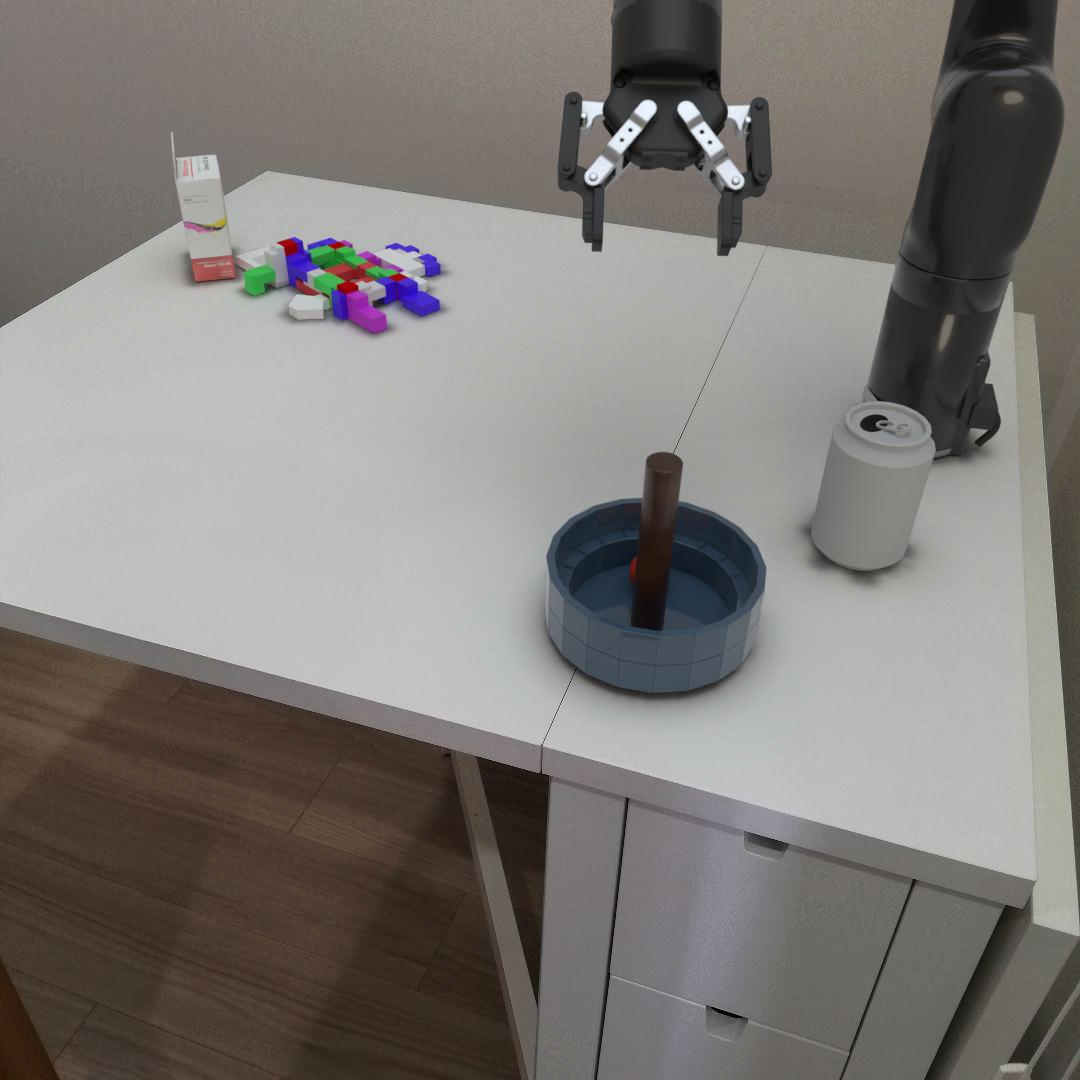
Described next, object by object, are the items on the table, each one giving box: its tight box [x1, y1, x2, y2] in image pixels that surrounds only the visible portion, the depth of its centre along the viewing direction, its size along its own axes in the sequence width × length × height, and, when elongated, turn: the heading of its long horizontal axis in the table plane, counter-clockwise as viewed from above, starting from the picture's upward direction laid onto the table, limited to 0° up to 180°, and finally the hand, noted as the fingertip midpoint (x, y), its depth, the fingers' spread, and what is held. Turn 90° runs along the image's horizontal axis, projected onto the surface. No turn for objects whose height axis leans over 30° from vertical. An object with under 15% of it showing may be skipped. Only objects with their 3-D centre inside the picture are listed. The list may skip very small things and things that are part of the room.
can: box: [810, 401, 936, 572], centre depth 81 cm, size 8×8×12 cm
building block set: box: [235, 236, 442, 334], centre depth 121 cm, size 25×20×4 cm
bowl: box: [544, 497, 767, 694], centre depth 76 cm, size 15×15×6 cm
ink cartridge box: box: [170, 131, 237, 282], centre depth 121 cm, size 9×5×15 cm, turn 17°
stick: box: [631, 451, 684, 631], centre depth 72 cm, size 2×2×14 cm
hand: (660, 249), depth 71 cm, fingers open, 8 cm apart
